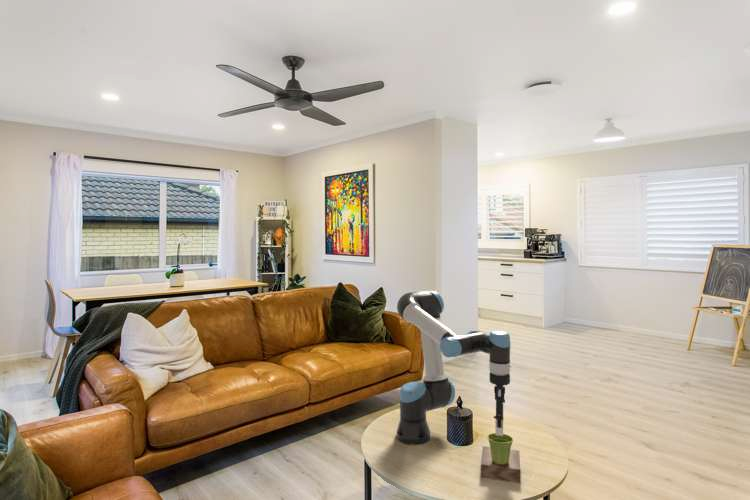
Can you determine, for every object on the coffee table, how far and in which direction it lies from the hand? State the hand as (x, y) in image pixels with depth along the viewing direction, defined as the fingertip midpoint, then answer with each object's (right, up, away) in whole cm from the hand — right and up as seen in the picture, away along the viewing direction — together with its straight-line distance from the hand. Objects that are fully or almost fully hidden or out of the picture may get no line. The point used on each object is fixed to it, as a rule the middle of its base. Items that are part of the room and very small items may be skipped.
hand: (499, 426), depth 163 cm
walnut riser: (+1, -17, 0) cm, 17 cm away
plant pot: (-1, -12, -3) cm, 12 cm away
